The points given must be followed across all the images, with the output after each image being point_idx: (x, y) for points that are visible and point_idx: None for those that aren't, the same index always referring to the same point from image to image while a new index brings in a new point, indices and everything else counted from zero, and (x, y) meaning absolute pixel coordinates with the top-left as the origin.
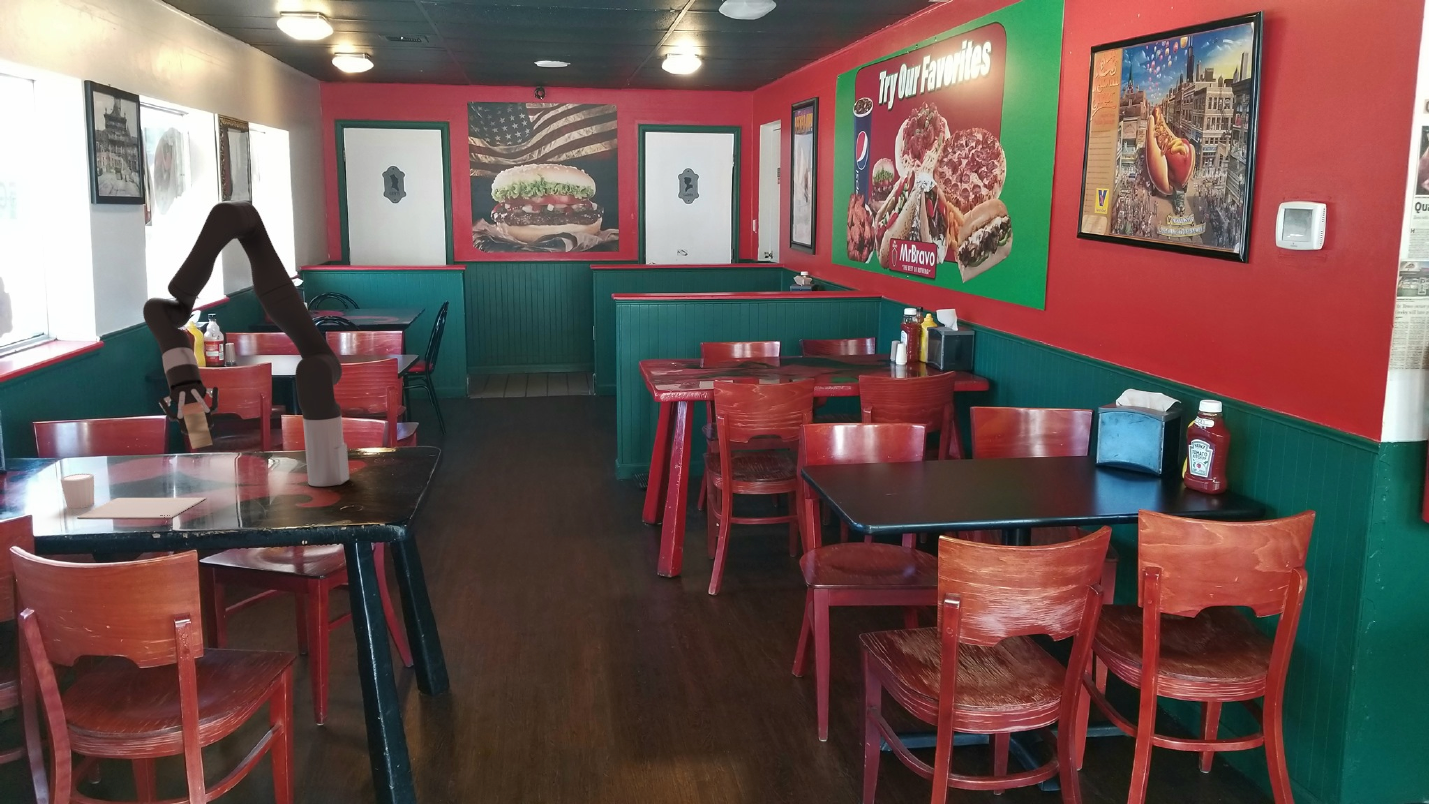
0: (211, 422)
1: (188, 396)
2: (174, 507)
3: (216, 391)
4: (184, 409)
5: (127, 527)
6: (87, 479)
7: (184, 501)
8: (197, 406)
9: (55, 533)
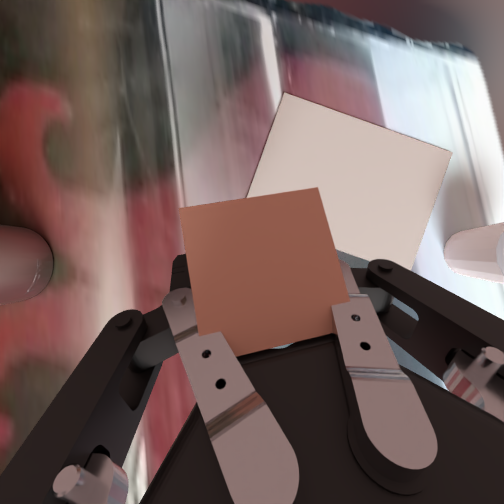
0: (179, 262)
1: (319, 420)
2: (289, 160)
3: (1, 497)
4: (313, 230)
5: (350, 61)
6: (501, 231)
7: None
8: (224, 250)
9: (464, 66)
